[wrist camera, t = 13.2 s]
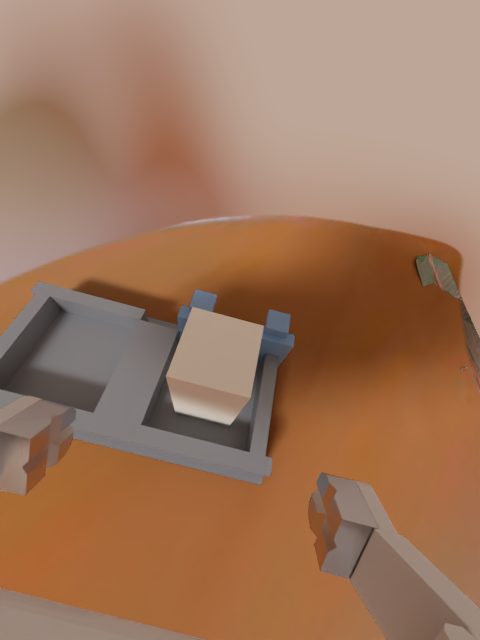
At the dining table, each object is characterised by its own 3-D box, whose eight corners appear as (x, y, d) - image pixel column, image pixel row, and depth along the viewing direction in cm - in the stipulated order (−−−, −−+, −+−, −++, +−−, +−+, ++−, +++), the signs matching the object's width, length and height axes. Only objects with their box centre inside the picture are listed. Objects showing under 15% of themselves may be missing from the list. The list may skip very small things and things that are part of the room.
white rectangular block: (240, 374, 21) (263, 325, 14) (229, 426, 18) (250, 398, 12) (192, 362, 20) (192, 306, 14) (175, 412, 18) (165, 376, 12)
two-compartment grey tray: (277, 350, 23) (299, 317, 19) (258, 484, 18) (284, 487, 13) (63, 293, 23) (28, 244, 18) (-28, 413, 17) (-114, 388, 12)
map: (440, 260, 35) (446, 255, 34) (515, 417, 24) (526, 415, 24) (407, 254, 35) (412, 249, 34) (469, 411, 24) (478, 409, 23)
